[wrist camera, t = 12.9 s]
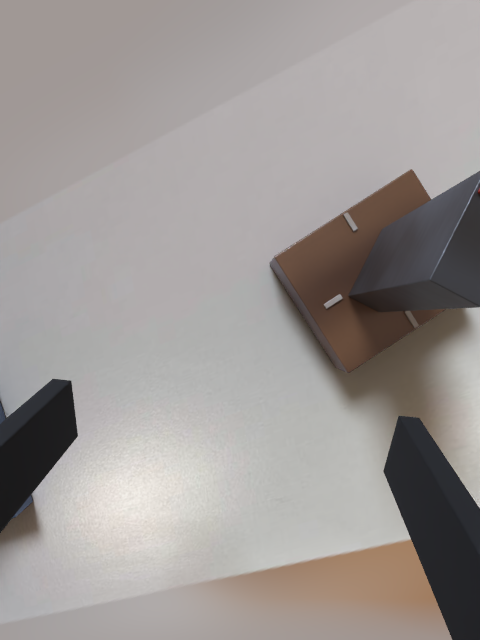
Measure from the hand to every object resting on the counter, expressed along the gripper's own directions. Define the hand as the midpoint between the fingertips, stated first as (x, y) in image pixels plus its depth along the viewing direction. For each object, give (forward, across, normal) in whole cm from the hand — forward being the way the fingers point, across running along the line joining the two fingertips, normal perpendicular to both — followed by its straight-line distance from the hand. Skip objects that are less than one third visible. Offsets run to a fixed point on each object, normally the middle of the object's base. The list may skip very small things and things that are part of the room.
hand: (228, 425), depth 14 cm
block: (+14, +9, +4) cm, 17 cm away
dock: (+17, +9, +3) cm, 19 cm away
